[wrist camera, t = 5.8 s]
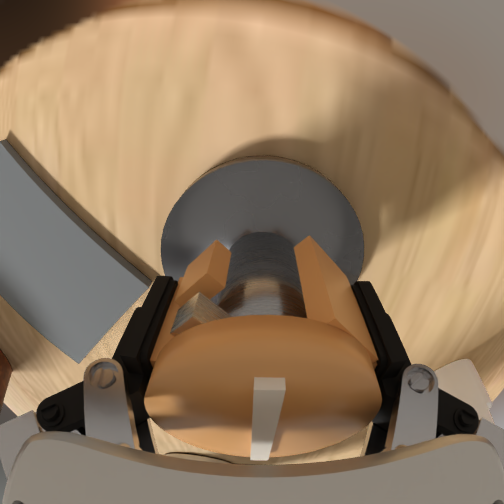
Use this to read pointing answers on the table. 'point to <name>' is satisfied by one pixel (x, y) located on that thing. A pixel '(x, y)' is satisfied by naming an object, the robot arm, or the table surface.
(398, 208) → the table surface
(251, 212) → the grey post on disc
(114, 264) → the mat
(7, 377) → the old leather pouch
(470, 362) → the cylinder with rectangular tab
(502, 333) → the table surface
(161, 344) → the orange ellipsoid with prongs
